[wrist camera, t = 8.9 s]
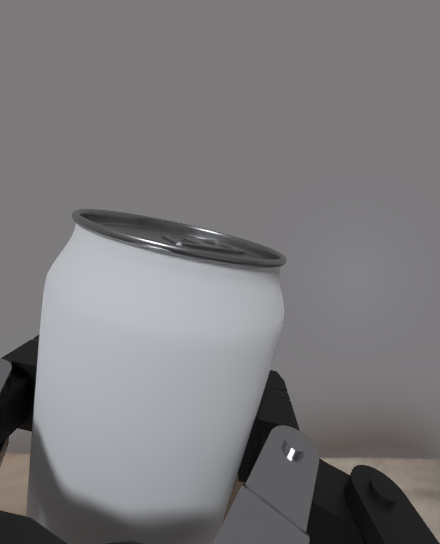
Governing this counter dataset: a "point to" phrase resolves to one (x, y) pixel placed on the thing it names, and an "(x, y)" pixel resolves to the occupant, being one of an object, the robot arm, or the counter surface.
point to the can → (148, 378)
